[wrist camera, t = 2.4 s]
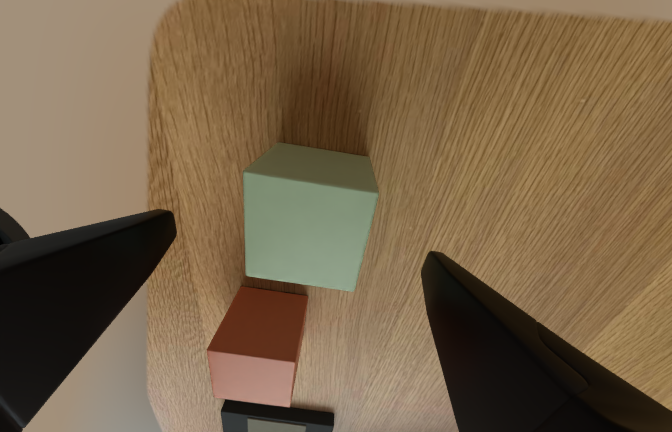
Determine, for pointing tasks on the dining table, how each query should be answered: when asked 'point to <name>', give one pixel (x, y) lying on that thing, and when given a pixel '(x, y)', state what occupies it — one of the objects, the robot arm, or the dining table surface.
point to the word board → (272, 418)
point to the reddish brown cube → (258, 347)
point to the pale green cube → (308, 215)
